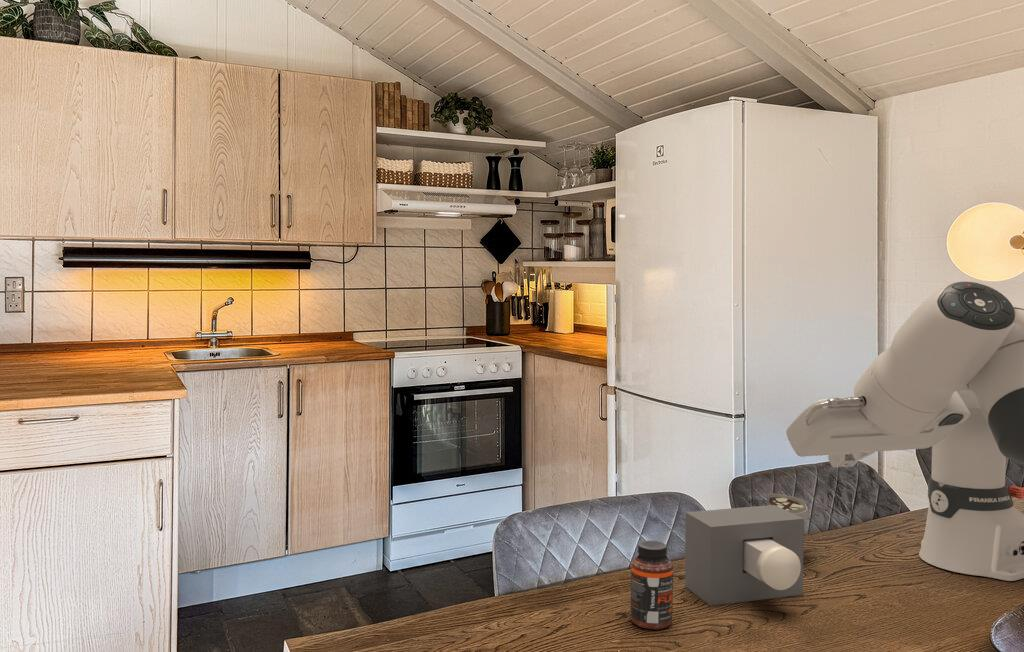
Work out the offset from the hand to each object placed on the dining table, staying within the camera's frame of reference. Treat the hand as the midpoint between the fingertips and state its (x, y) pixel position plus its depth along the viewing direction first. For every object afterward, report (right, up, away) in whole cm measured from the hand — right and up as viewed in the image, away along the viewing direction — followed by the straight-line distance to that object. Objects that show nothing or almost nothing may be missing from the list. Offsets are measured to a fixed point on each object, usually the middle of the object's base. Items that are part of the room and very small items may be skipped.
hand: (839, 462), depth 101 cm
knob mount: (-6, -24, +23) cm, 34 cm away
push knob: (-4, -21, +16) cm, 27 cm away
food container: (+7, -24, +38) cm, 45 cm away
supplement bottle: (-22, -25, +11) cm, 35 cm away
